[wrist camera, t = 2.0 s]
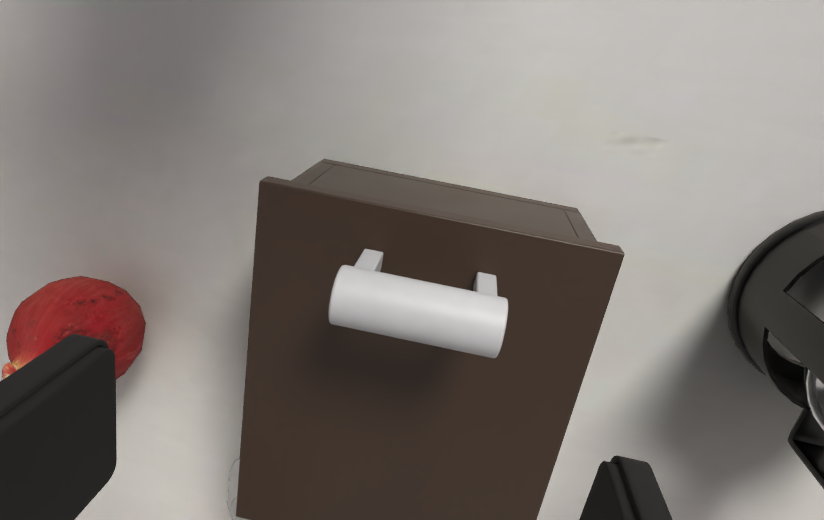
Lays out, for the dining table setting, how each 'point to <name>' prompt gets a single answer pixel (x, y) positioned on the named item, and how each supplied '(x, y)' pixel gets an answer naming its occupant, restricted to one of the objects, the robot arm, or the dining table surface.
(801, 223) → the french press
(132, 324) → the red fruit
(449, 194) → the dark brown wooden crate
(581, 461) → the dining table surface
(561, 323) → the wooden box lid
